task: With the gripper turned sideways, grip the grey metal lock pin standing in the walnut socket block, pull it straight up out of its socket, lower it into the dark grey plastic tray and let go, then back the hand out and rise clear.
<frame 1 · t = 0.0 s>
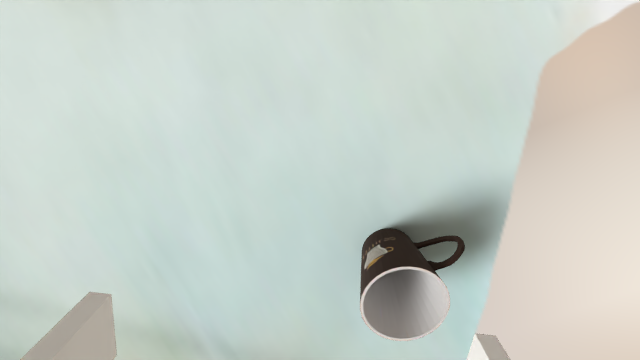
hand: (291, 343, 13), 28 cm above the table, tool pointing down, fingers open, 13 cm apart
coffee mug: (399, 247, 43), on the table
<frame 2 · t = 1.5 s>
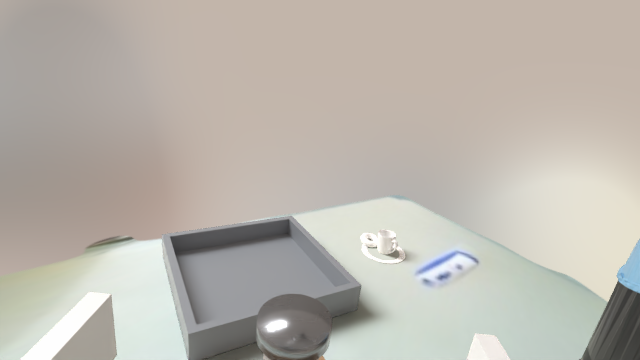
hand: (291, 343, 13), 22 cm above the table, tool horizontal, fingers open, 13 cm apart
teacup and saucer: (385, 247, 67), on the table
tray: (253, 281, 51), on the table
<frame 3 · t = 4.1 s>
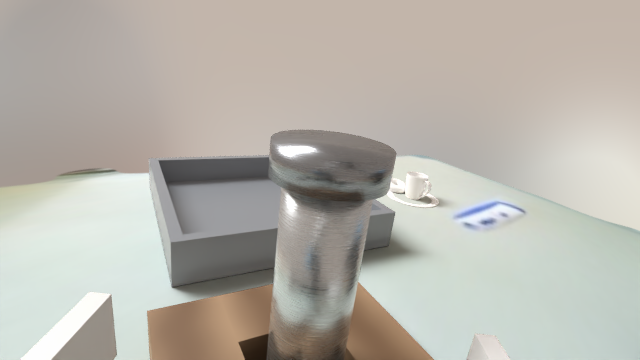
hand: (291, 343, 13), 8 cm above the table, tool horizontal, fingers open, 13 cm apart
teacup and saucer: (414, 195, 57), on the table
lock pin: (313, 293, 17), in the socket block
tray: (258, 214, 42), on the table
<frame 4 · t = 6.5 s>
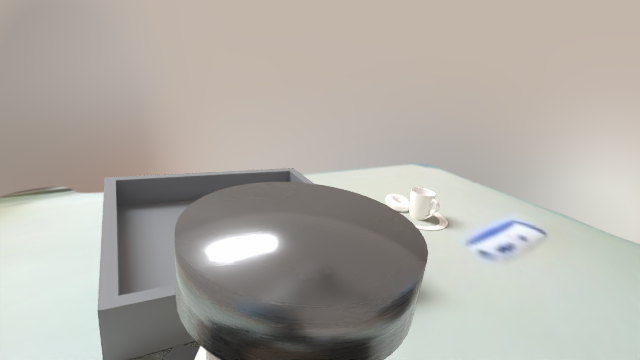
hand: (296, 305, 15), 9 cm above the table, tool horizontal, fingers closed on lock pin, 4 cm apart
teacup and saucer: (418, 213, 50), on the table
tray: (235, 245, 35), on the table
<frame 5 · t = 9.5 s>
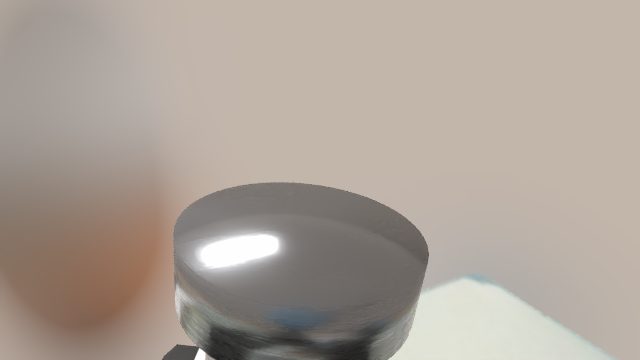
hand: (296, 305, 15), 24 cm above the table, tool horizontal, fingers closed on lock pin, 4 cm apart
when the fingers open (11 cm above the table, at t = 12.8 s): lock pin drops 1 cm, resting on tray.
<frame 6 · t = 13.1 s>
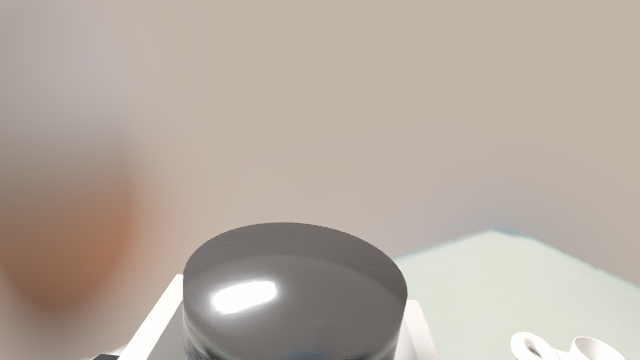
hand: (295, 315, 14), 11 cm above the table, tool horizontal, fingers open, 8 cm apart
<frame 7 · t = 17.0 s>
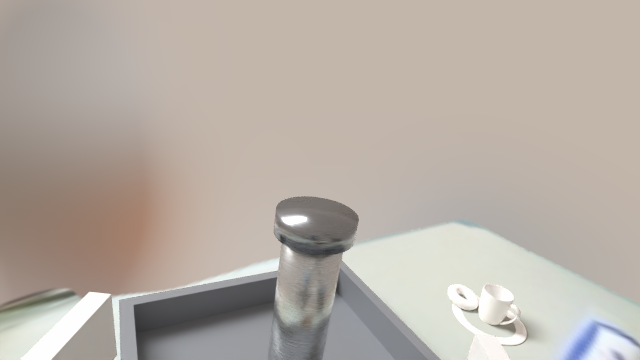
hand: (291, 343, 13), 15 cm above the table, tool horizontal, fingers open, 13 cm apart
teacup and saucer: (485, 307, 43), on the table
lock pin: (302, 310, 24), in the tray, point 8 cm above the table
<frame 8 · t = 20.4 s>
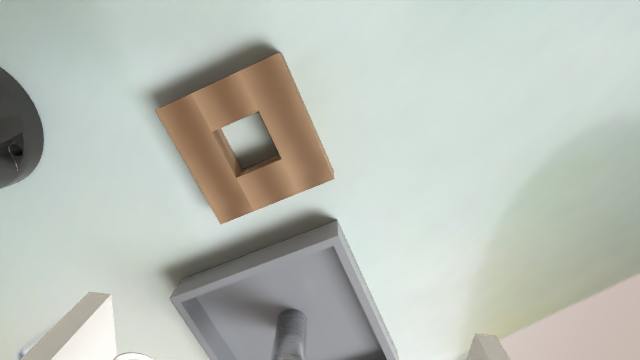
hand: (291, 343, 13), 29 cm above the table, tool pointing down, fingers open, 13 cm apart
socket block: (252, 139, 40), on the table
tray: (293, 316, 47), on the table
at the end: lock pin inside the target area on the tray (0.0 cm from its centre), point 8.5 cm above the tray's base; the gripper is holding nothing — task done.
